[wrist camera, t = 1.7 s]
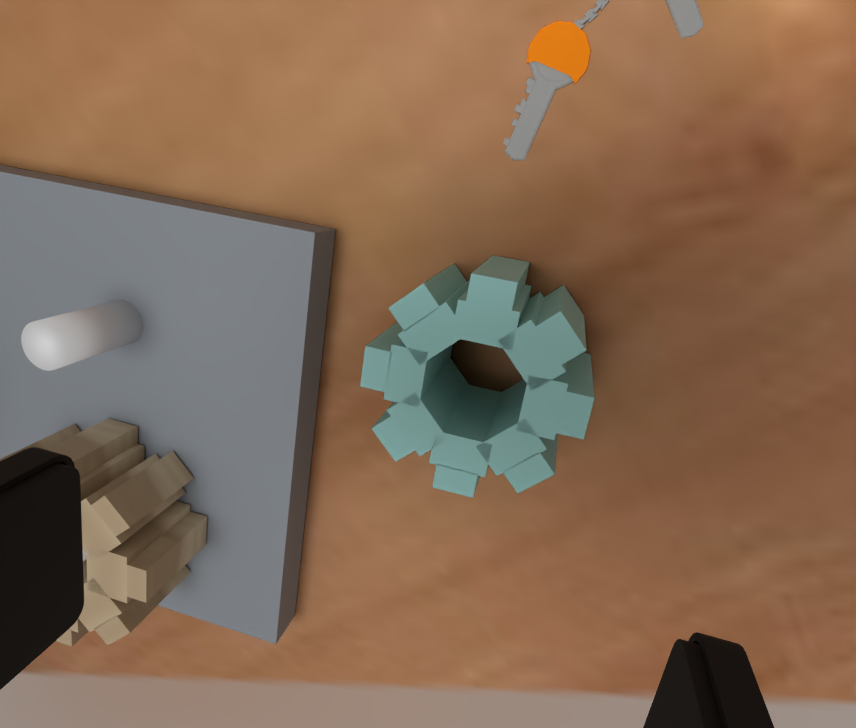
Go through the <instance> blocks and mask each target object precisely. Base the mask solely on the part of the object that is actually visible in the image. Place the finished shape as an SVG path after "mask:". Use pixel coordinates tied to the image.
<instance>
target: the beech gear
mask: <svg viewBox="0 0 856 728" xmlns="http://www.w3.org/2000/svg"><path fill="white" fill-rule="evenodd" d="M31 447H37V448H42V449H45V450H49V451H52V452H56V453H59V454H63V455H66V456H68V457H70V458H71V459H72V460H73V462H74V465H75V468H76V469H77V470H78V471H79V474H80V486H81V516H82V546H83V550H84V552H85V553H86V560H85V561H83V576H84V607H83V610H82V612H81V614H80V616H79V618H78V619H77V621H76V622H75V623H74V624H73V626H72V627H71V628H69V629H68V630H67V631H66V632H65V633H64V634H63V635H62V636H60V637H59V638H58V639H57V640H56V641H58V642H60V643H63V644H66V645H69V646H73V645H74V644H75V643H76V642H77V641H78V640H80V639H81V638H82V637H83V636H84V635H85V634H86V633H87V632H88V631H89V632H91V631H93V630H94V629H95V631H96V632H97V633H98V634H99V636H100V637H101V638H102V639H103V640H104V642H105V643H106V644H107V645H109V644H111V643H113V642H115V641H116V640H118V639H120V638H122V637H123V636H125V635H127V634H129V633H130V632H131V631H132V630H133V629H134V628H135V627H136V626H137V625H138V624H139V623H140V622H141V621H142V620H143V619H144V618H145V617H146V616H147V615H148V614H149V613H150V612H151V611H152V610H153V609H154V608H155V607H156V606H157V605H158V604H159V603H160V602H161V601H162V600H163V599H164V598H165V597H166V596H167V595H168V594H169V593H170V592H171V591H172V590H173V589H174V588H175V587H176V586H177V585H178V584H179V583H180V582H181V581H182V580H183V579H184V578H185V577H186V576H187V575H188V574H189V573H190V571H189V569H188V568H187V567H186V564H187V563H188V562H189V561H190V560H191V559H192V558H193V557H194V556H195V555H196V554H197V553H198V552H199V551H200V550H201V549H202V548H203V547H204V546H205V545H206V530H207V516H204V515H201V514H197V513H194V512H190V505H188V504H185V503H182V502H178V501H176V500H177V499H179V498H180V497H181V496H182V495H184V494H185V493H186V492H185V491H184V490H183V488H182V487H183V486H184V485H186V484H187V483H188V482H190V481H191V480H192V479H194V478H193V476H192V475H191V474H190V473H189V471H188V470H187V469H186V467H185V466H184V465H183V463H182V462H181V461H180V460H179V458H178V457H177V456H176V454H175V453H174V452H173V451H172V452H170V453H168V454H167V455H165V456H164V457H162V458H161V459H159V457H158V456H157V455H156V454H154V455H153V456H151V457H149V458H148V459H146V460H145V461H144V445H140V444H138V426H135V425H131V424H127V423H123V422H120V421H116V420H112V419H109V418H107V419H105V420H103V421H101V422H99V423H97V424H95V425H93V426H91V427H89V428H87V429H85V430H83V431H80V430H79V429H78V427H77V426H76V425H75V424H73V425H71V426H69V427H67V428H65V429H62V430H60V431H58V432H56V433H54V434H52V435H50V436H48V437H46V438H43V439H41V440H39V441H37V442H35V443H33V444H31V445H29V446H27V447H25V448H22V449H20V450H18V451H16V452H14V453H12V454H10V455H8V456H6V457H3V458H1V459H0V461H2V460H4V459H6V458H8V457H10V456H12V455H14V454H16V453H19V452H21V451H23V450H25V449H28V448H31Z"/></svg>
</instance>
